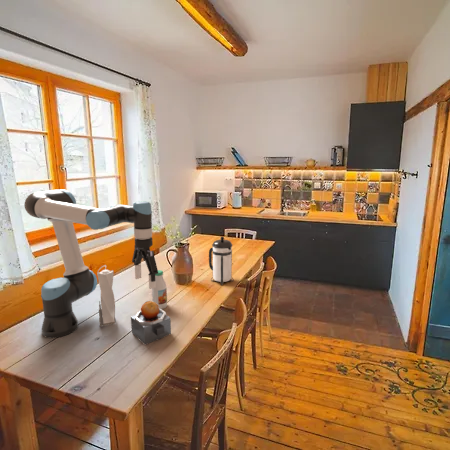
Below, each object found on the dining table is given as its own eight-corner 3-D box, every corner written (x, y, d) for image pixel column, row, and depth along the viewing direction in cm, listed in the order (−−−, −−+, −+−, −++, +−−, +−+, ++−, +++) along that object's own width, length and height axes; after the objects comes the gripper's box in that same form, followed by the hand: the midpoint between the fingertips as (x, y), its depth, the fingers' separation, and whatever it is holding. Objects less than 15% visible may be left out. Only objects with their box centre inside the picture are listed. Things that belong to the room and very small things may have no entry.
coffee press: (234, 276, 213) (234, 233, 206) (232, 286, 197) (233, 239, 191) (209, 275, 214) (208, 233, 208) (205, 284, 199) (205, 239, 192)
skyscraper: (99, 318, 157) (95, 265, 151) (116, 315, 160) (113, 263, 154) (99, 326, 150) (94, 271, 144) (117, 323, 152) (113, 269, 147)
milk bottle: (153, 310, 165) (151, 274, 161) (152, 303, 173) (150, 269, 168) (167, 308, 167) (166, 273, 163) (166, 302, 175) (165, 268, 170)
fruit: (149, 307, 149) (154, 296, 145) (158, 319, 145) (164, 308, 141) (134, 313, 143) (139, 302, 139) (144, 326, 139) (149, 315, 135)
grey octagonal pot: (147, 347, 133) (146, 327, 131) (131, 332, 144) (130, 314, 143) (173, 336, 142) (173, 317, 140) (156, 322, 153) (156, 305, 151)
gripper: (165, 242, 129) (166, 289, 134) (138, 230, 148) (140, 273, 152) (149, 245, 125) (150, 294, 129) (123, 232, 143) (125, 276, 148)
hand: (145, 283), depth 141 cm, fingers open, 13 cm apart
